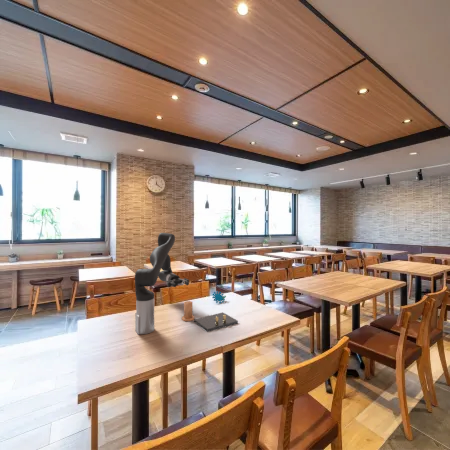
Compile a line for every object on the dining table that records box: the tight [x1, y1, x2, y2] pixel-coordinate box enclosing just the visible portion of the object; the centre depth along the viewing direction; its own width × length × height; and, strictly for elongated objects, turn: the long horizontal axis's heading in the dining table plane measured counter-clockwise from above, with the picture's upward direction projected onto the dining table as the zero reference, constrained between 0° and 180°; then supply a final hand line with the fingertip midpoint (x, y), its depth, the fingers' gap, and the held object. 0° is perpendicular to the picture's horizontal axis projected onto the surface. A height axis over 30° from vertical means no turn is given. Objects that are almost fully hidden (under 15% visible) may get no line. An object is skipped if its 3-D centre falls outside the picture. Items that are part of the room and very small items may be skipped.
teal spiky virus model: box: [212, 290, 227, 305], centre depth 178 cm, size 11×6×10 cm
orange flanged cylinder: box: [181, 300, 196, 322], centre depth 146 cm, size 8×8×10 cm
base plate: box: [193, 312, 239, 333], centre depth 141 cm, size 20×16×6 cm
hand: (181, 284), depth 155 cm, fingers open, 8 cm apart
